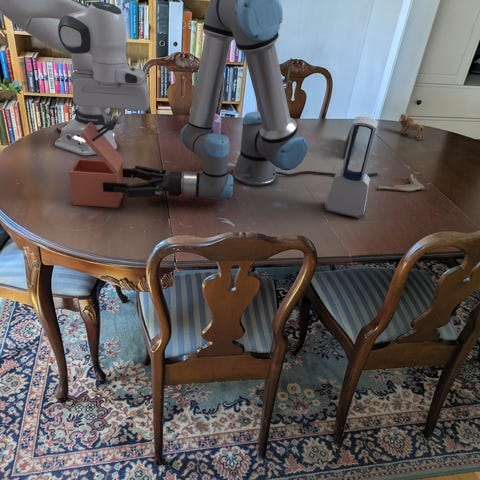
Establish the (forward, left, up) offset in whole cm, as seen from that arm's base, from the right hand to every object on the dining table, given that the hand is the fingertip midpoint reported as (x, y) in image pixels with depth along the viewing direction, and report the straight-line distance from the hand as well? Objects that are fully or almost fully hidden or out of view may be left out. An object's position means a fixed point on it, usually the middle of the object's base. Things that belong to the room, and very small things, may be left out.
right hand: (106, 179), depth 139 cm
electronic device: (-68, +30, -7) cm, 75 cm away
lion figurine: (-146, -21, -7) cm, 148 cm away
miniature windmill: (-90, -47, -7) cm, 101 cm away
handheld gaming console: (-104, -13, -7) cm, 105 cm away
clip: (-53, -48, -7) cm, 72 cm away
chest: (+2, -1, -7) cm, 7 cm away
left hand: (-3, +1, +18) cm, 18 cm away
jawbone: (-101, +20, -7) cm, 103 cm away
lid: (+1, 0, +10) cm, 10 cm away
